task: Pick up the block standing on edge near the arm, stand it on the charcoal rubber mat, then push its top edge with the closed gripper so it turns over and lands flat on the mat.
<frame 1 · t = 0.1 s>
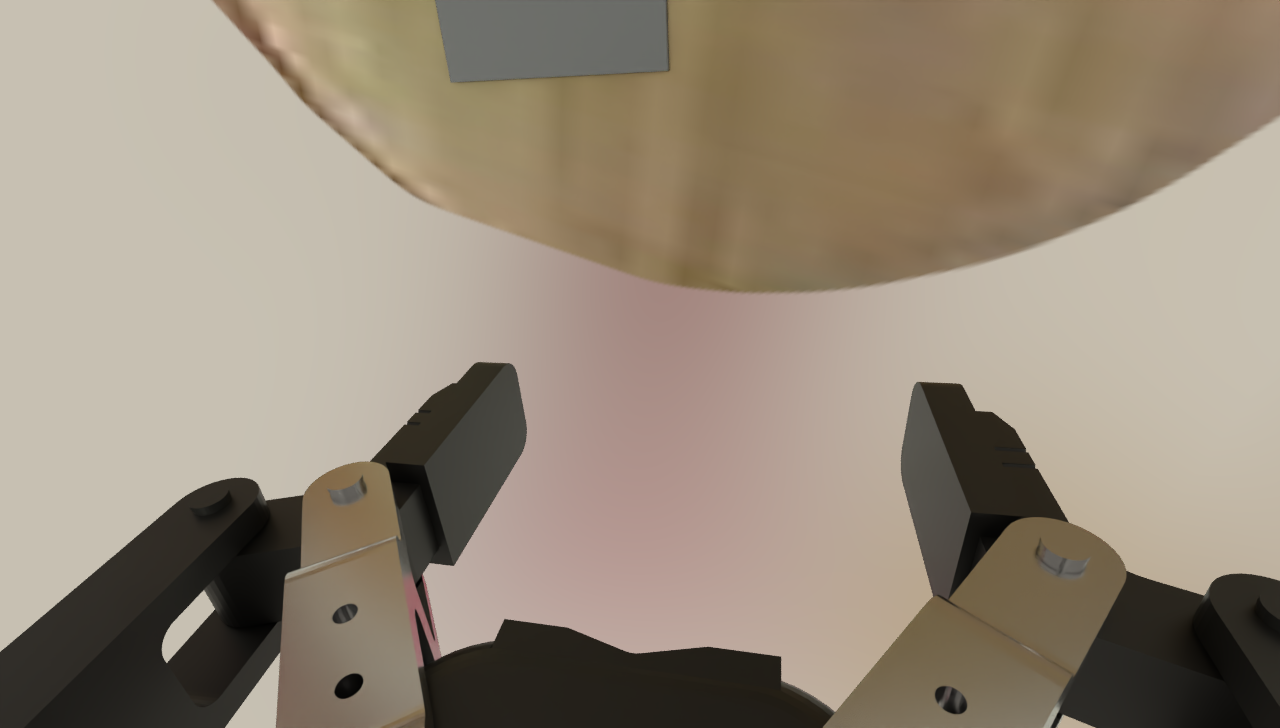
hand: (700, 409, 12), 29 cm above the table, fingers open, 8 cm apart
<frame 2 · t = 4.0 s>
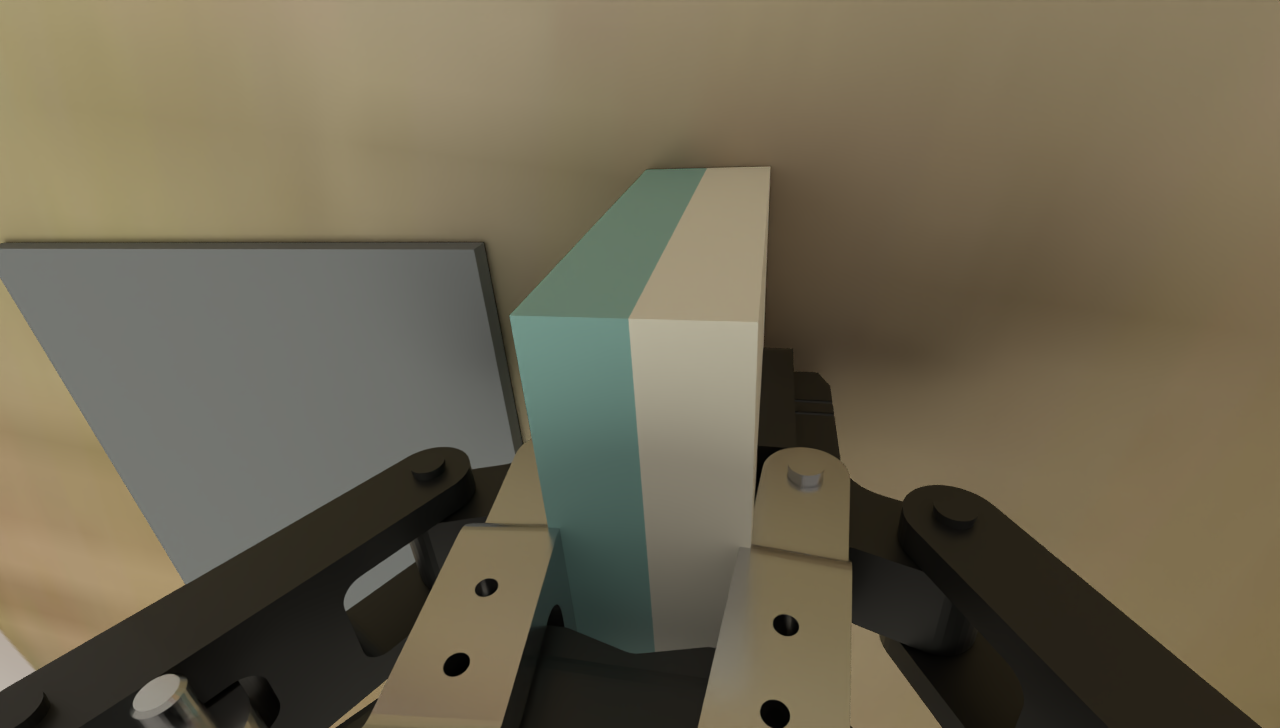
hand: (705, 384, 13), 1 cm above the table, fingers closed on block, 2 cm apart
mat: (312, 468, 18), on the table
block: (709, 370, 14), on the table, touching gripper
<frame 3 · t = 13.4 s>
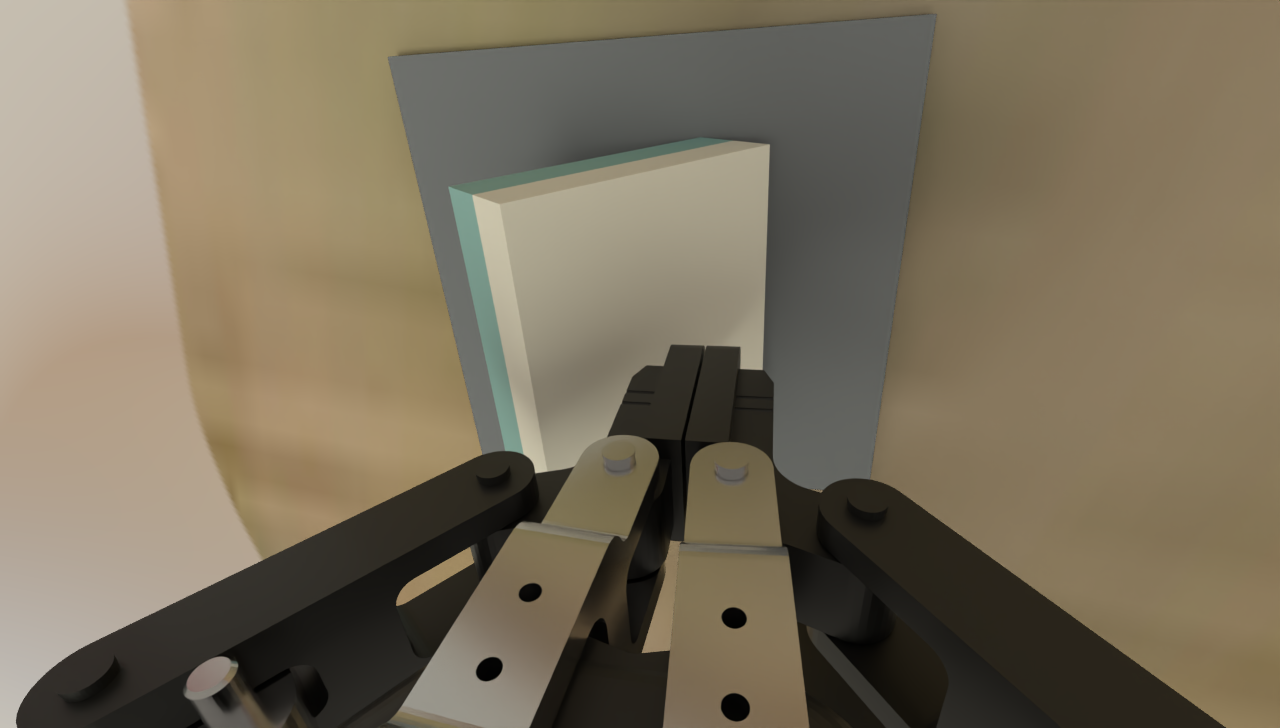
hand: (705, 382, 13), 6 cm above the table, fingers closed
mat: (654, 290, 19), on the table
block: (732, 306, 17), point 1 cm above the table, tilted 41°, touching mat
mug: (861, 682, 26), on the table
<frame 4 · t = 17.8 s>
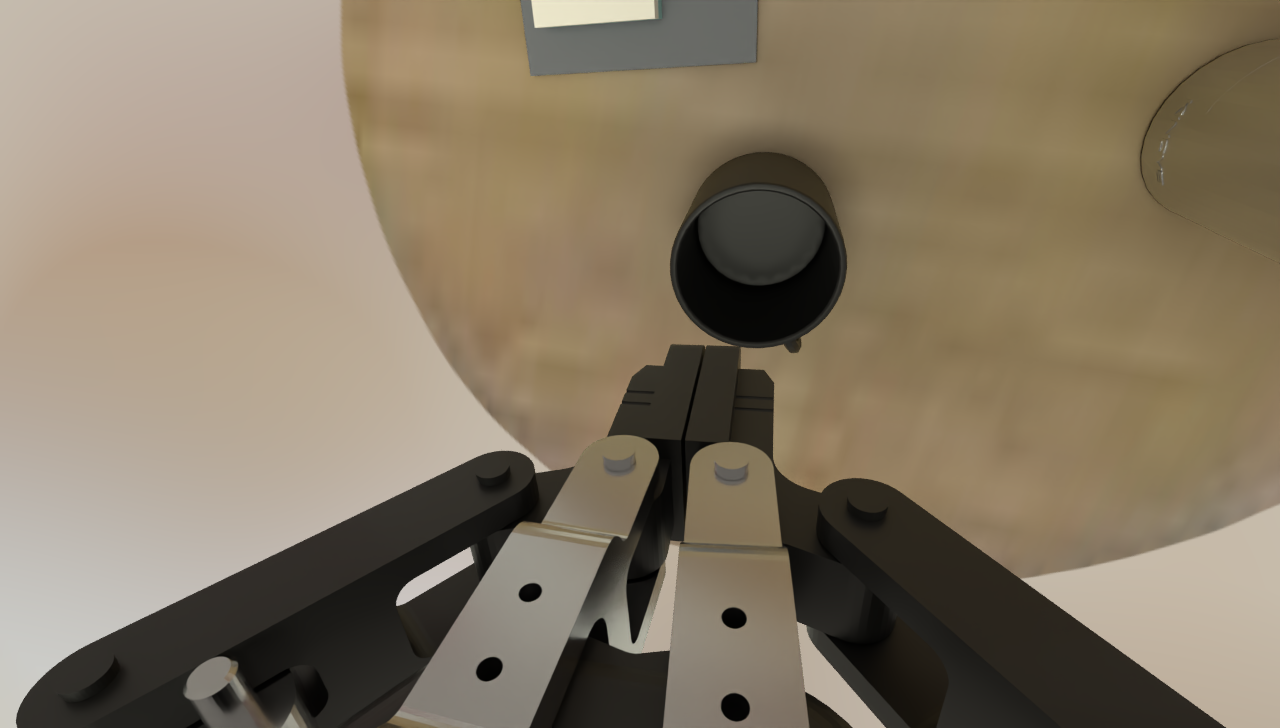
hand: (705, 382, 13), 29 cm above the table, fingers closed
mug: (766, 241, 41), on the table
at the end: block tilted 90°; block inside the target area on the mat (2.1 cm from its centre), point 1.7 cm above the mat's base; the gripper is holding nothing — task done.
